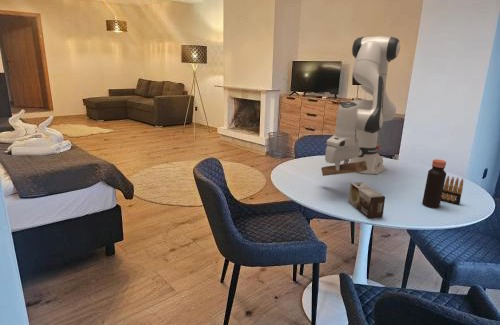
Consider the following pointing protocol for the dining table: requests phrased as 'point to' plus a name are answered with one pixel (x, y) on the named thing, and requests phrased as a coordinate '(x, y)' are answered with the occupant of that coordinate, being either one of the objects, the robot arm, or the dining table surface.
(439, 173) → the bottle
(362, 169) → the walnut pusher
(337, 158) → the robot arm
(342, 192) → the dining table surface
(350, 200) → the coffee box
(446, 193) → the ammunition clip
